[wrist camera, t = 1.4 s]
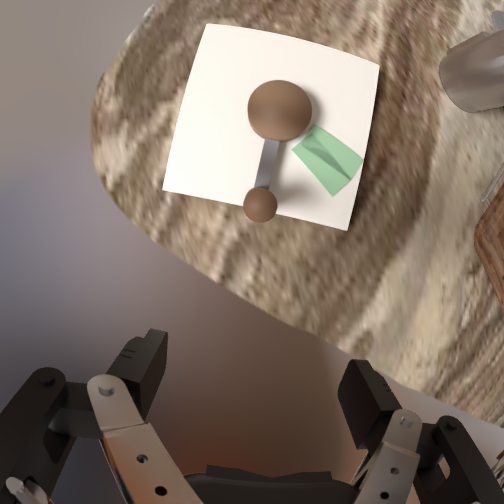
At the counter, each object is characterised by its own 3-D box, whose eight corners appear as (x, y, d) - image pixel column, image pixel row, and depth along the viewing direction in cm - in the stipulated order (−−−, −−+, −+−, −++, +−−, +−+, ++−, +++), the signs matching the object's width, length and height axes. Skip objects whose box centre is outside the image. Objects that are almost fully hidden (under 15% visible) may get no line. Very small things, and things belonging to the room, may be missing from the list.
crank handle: (254, 82, 26) (255, 54, 19) (312, 95, 26) (329, 72, 19) (226, 206, 29) (217, 213, 22) (284, 218, 29) (294, 230, 22)
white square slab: (210, 34, 27) (206, 22, 24) (370, 73, 28) (380, 64, 25) (170, 189, 32) (161, 190, 29) (339, 226, 33) (347, 231, 30)
